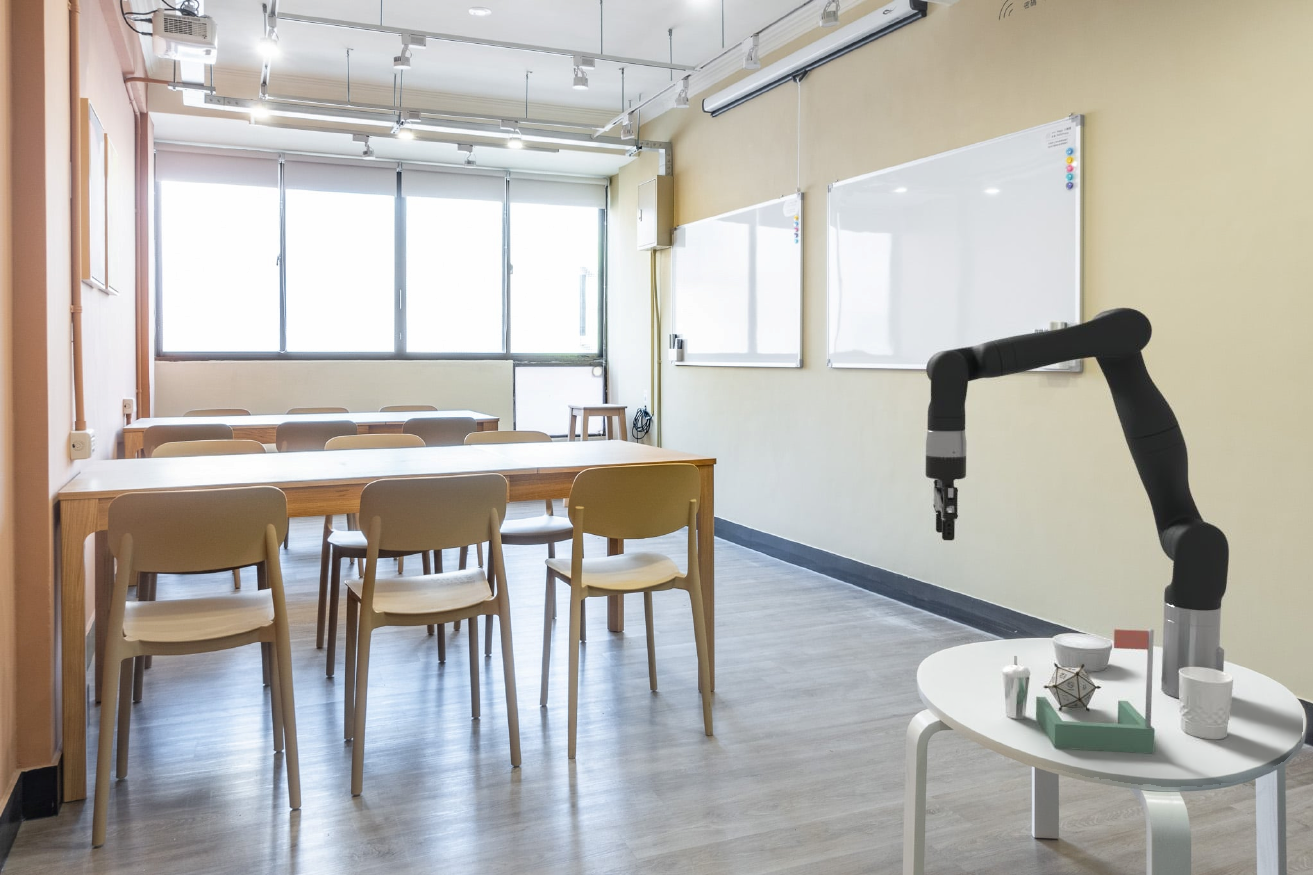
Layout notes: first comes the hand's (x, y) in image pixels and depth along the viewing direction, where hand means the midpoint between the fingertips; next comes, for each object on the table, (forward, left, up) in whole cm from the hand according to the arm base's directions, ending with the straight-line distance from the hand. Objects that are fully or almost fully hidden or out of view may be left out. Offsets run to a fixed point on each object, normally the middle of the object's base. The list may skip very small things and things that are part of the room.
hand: (944, 536), depth 175 cm
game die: (-21, +11, -30) cm, 38 cm away
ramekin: (-30, -15, -30) cm, 45 cm away
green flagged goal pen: (-21, +23, -29) cm, 43 cm away
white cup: (-40, +19, -30) cm, 53 cm away
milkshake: (-10, +16, -30) cm, 35 cm away
